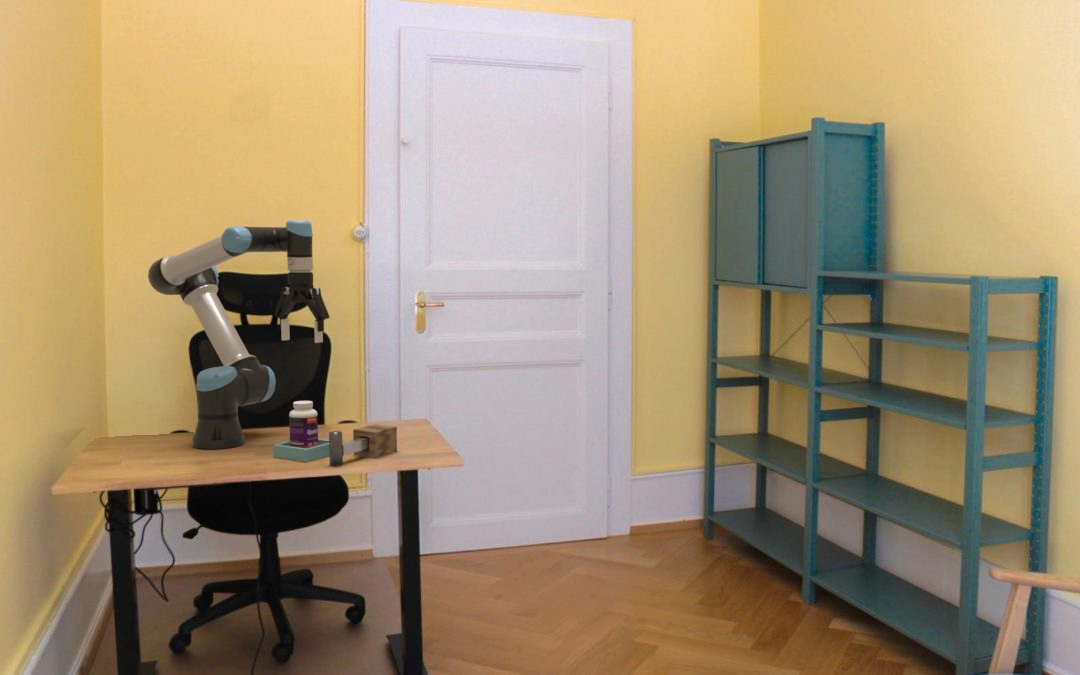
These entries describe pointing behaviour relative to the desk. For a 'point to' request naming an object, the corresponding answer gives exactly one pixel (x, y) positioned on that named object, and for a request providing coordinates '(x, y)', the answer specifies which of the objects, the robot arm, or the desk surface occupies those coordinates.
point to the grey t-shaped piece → (344, 447)
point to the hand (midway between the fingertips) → (302, 341)
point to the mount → (377, 440)
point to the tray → (301, 451)
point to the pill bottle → (303, 425)
